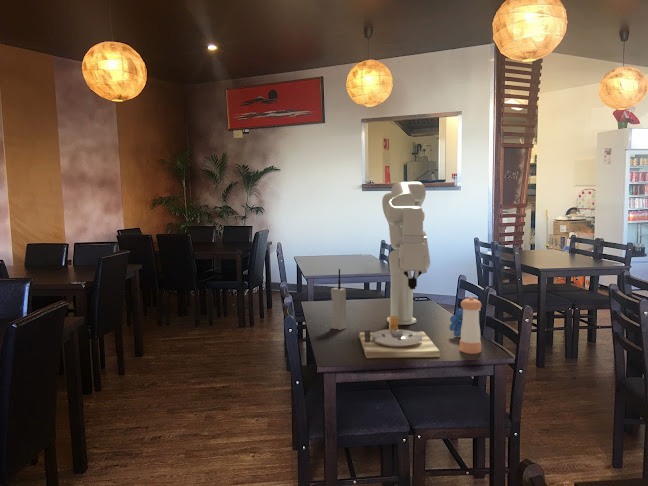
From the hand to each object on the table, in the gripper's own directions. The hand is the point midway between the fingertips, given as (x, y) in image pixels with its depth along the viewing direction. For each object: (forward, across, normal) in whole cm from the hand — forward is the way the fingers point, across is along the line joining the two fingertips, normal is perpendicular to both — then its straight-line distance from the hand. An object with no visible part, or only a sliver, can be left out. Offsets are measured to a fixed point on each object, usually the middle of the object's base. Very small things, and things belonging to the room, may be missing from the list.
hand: (412, 288), depth 190 cm
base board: (+20, +7, +8) cm, 22 cm away
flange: (+17, +7, +7) cm, 20 cm away
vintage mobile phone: (+20, +27, -18) cm, 38 cm away
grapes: (+20, -21, -4) cm, 29 cm away
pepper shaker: (+20, -18, +14) cm, 30 cm away
